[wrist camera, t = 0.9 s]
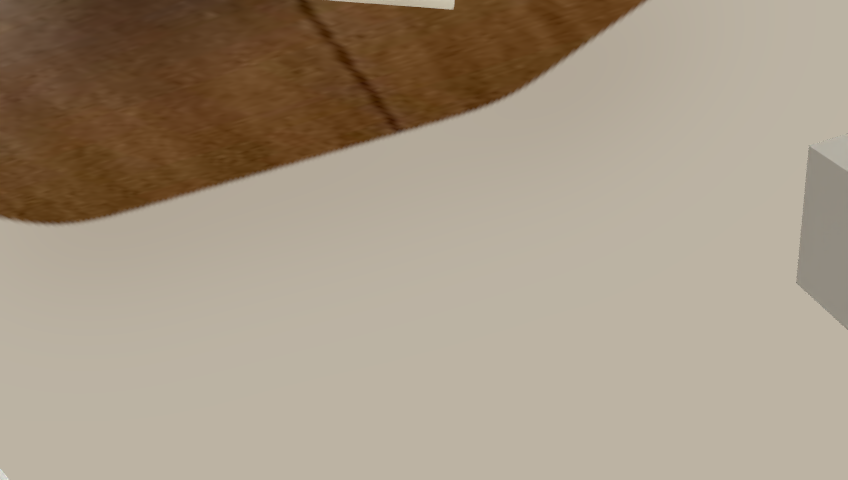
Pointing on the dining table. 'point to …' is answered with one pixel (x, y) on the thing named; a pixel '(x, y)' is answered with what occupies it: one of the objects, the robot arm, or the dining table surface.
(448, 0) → the domino
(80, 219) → the dining table surface
